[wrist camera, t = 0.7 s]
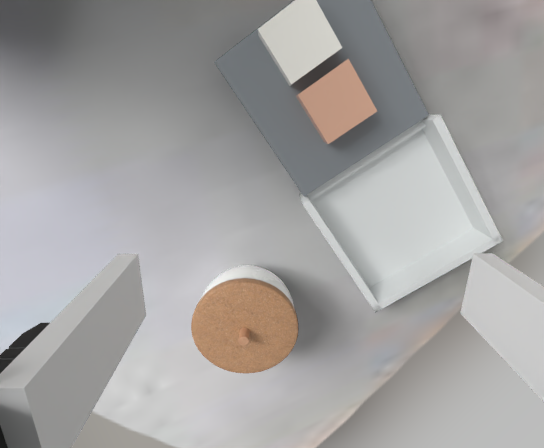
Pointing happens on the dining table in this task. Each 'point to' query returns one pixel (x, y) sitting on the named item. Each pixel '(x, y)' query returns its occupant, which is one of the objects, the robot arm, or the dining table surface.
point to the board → (282, 98)
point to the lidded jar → (245, 320)
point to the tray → (403, 214)
